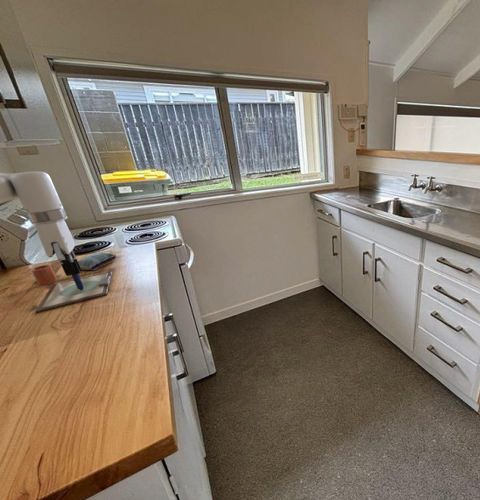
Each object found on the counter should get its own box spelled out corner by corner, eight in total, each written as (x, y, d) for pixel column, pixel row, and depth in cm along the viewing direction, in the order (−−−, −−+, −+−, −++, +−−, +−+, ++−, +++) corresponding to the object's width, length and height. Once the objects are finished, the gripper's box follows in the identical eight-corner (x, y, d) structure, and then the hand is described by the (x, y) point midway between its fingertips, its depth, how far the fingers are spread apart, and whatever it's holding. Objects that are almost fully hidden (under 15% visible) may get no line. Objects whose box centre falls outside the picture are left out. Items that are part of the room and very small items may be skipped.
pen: (78, 291, 89) (63, 258, 85) (78, 289, 91) (64, 256, 86) (84, 289, 90) (70, 256, 86) (85, 288, 92) (71, 255, 87)
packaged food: (71, 273, 104) (65, 261, 102) (100, 260, 115) (95, 249, 113) (92, 274, 103) (87, 261, 101) (119, 260, 114) (115, 249, 112)
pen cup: (37, 287, 95) (29, 271, 92) (41, 282, 98) (33, 267, 96) (56, 283, 97) (48, 268, 95) (59, 278, 100) (51, 263, 98)
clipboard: (35, 313, 80) (33, 309, 79) (53, 285, 95) (51, 282, 95) (107, 295, 88) (105, 291, 88) (112, 272, 104) (111, 269, 103)
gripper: (38, 213, 85) (63, 267, 92) (20, 224, 73) (51, 286, 80) (70, 209, 89) (93, 261, 96) (59, 219, 77) (85, 278, 84)
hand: (74, 272), depth 88 cm, fingers closed on pen, 1 cm apart
